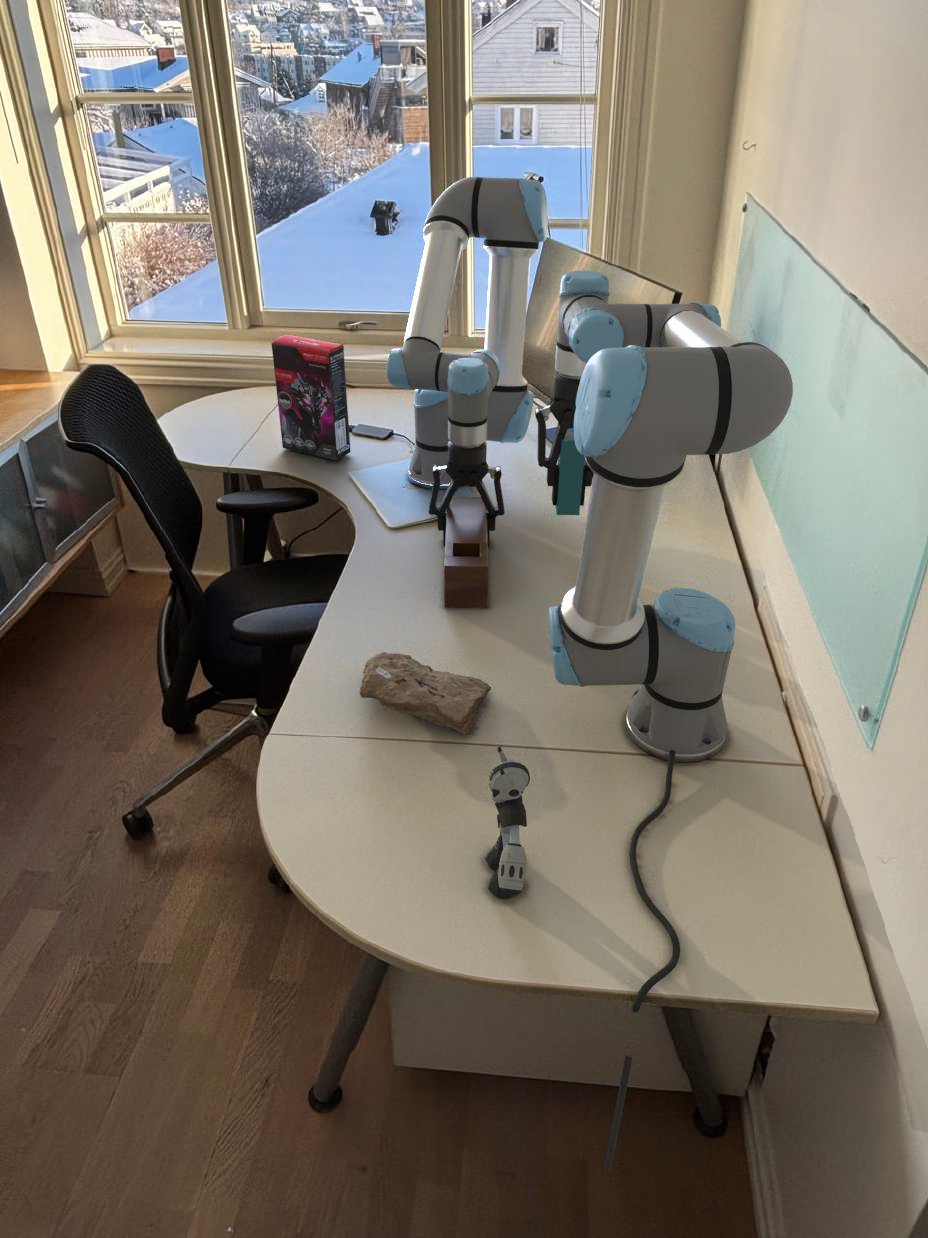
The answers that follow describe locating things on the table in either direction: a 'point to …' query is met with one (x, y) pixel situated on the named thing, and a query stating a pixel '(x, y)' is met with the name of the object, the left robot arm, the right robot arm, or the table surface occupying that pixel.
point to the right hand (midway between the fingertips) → (567, 501)
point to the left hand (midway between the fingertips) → (466, 543)
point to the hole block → (466, 554)
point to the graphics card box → (312, 396)
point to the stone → (424, 691)
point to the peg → (569, 477)
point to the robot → (508, 827)
